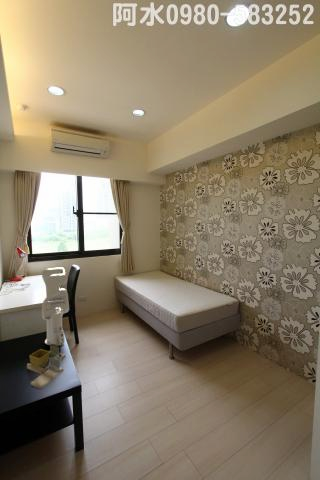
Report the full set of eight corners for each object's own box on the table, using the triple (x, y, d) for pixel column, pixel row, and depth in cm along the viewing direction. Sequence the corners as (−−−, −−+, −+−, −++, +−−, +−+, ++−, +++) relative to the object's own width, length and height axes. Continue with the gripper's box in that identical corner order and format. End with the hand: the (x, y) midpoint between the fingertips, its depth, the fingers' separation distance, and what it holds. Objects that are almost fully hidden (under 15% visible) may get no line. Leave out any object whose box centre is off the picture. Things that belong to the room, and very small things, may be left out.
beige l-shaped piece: (53, 367, 147) (53, 353, 146) (63, 370, 144) (63, 356, 143) (31, 384, 131) (30, 369, 130) (41, 388, 128) (40, 373, 127)
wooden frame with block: (51, 352, 164) (51, 341, 163) (65, 356, 159) (65, 345, 159) (26, 368, 145) (26, 357, 144) (42, 373, 140) (42, 362, 140)
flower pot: (40, 361, 153) (40, 348, 152) (50, 364, 150) (50, 351, 149) (29, 368, 145) (29, 355, 144) (39, 372, 142) (38, 358, 141)
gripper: (69, 328, 159) (69, 352, 161) (52, 324, 165) (52, 347, 166) (61, 333, 152) (61, 358, 154) (43, 328, 158) (44, 353, 159)
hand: (56, 352), depth 160 cm, fingers closed on wooden frame with block, 2 cm apart
